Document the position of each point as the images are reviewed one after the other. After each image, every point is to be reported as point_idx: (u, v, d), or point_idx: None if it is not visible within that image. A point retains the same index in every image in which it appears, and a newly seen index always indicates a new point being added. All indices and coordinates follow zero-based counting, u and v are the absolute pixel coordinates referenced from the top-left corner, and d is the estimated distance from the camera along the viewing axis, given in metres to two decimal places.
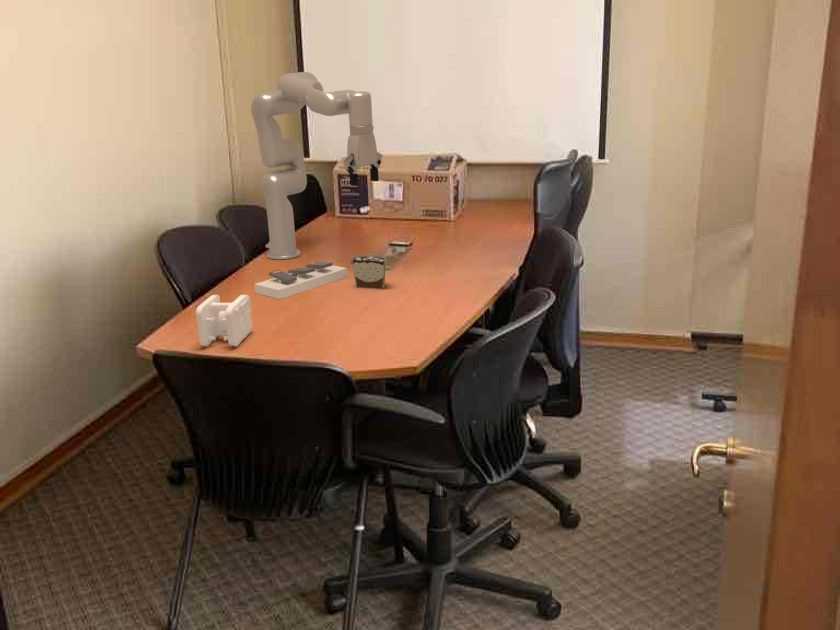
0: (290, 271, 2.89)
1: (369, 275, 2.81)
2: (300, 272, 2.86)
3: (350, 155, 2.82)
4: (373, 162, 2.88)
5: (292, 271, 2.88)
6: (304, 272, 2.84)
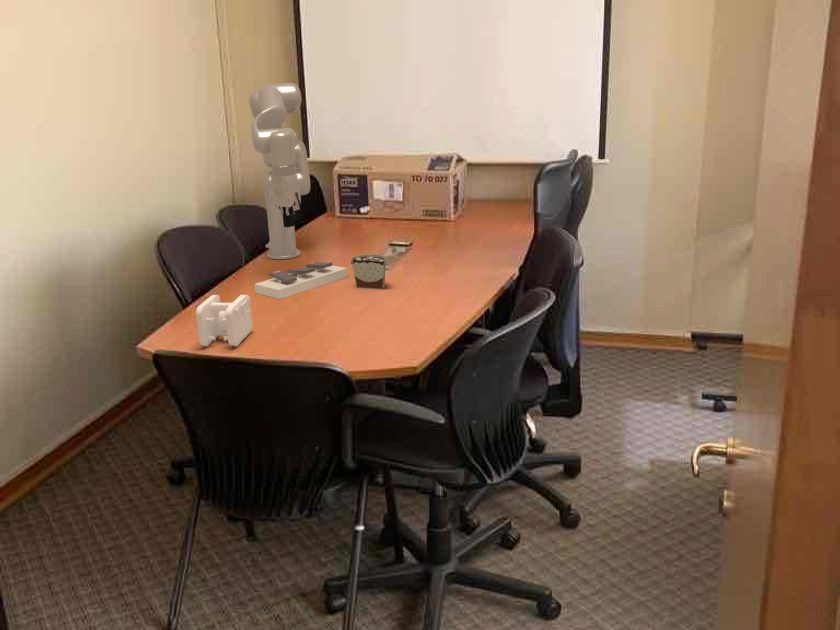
0: (290, 271, 2.89)
1: (369, 275, 2.81)
2: (300, 272, 2.86)
3: (295, 198, 2.80)
4: None
5: (292, 271, 2.88)
6: (304, 272, 2.84)
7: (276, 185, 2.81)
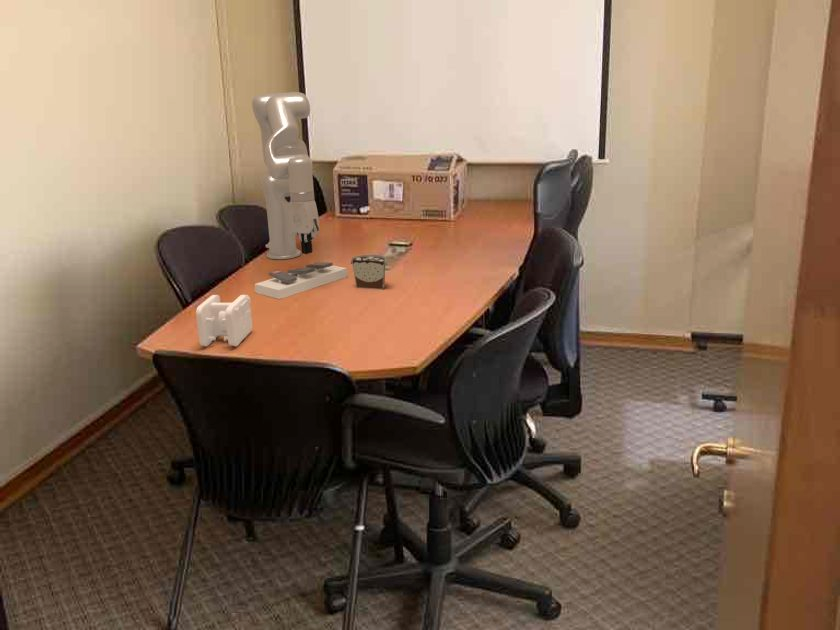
0: (290, 271, 2.89)
1: (369, 275, 2.81)
2: (300, 272, 2.86)
3: (313, 225, 2.78)
4: None
5: (292, 271, 2.88)
6: (304, 272, 2.84)
7: (294, 211, 2.78)
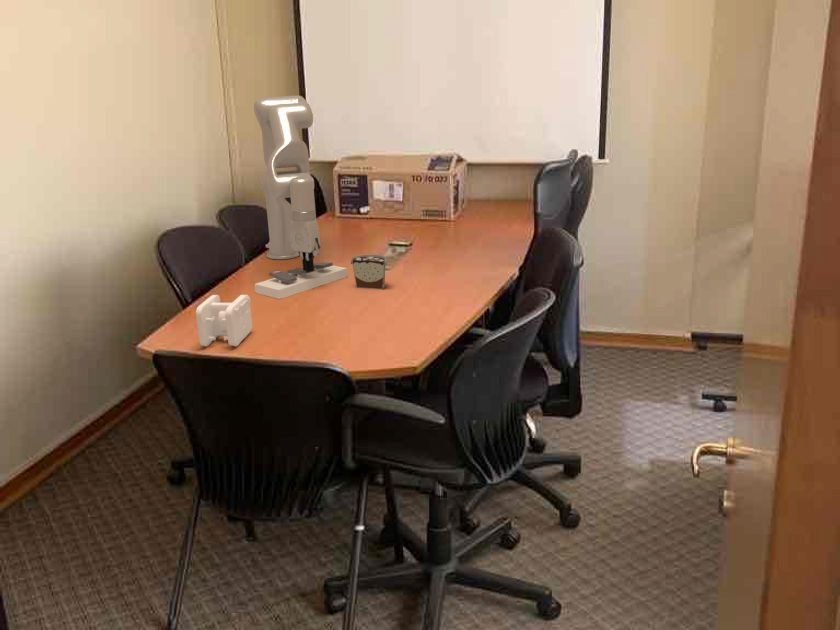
0: (290, 271, 2.89)
1: (369, 275, 2.81)
2: (300, 272, 2.86)
3: (315, 243, 2.80)
4: None
5: (292, 271, 2.88)
6: (304, 272, 2.84)
7: (296, 230, 2.80)
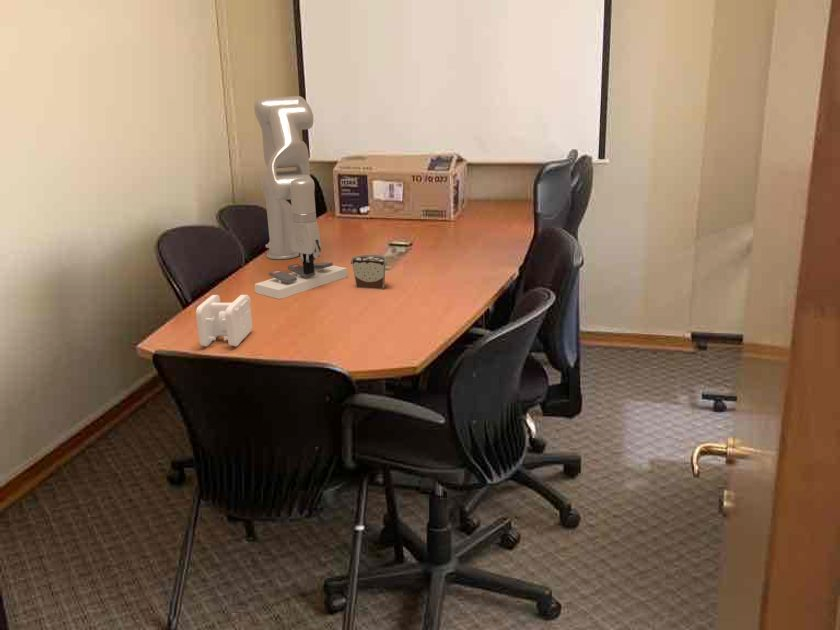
0: (290, 268, 2.89)
1: (369, 275, 2.81)
2: (300, 274, 2.86)
3: (315, 245, 2.80)
4: None
5: (292, 269, 2.88)
6: (304, 276, 2.85)
7: (296, 232, 2.80)
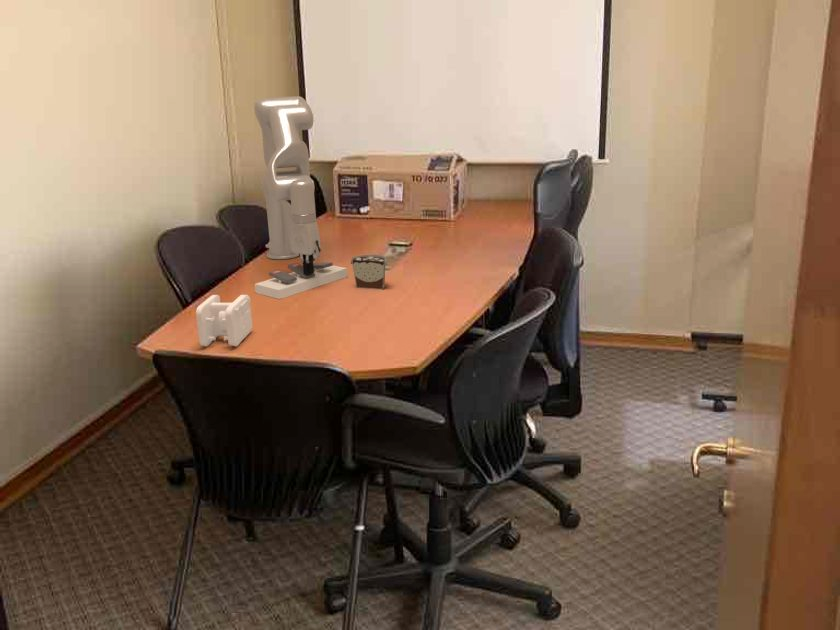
0: (290, 267, 2.88)
1: (369, 275, 2.81)
2: (300, 274, 2.86)
3: (315, 246, 2.80)
4: None
5: (292, 268, 2.88)
6: (304, 277, 2.85)
7: (296, 233, 2.80)
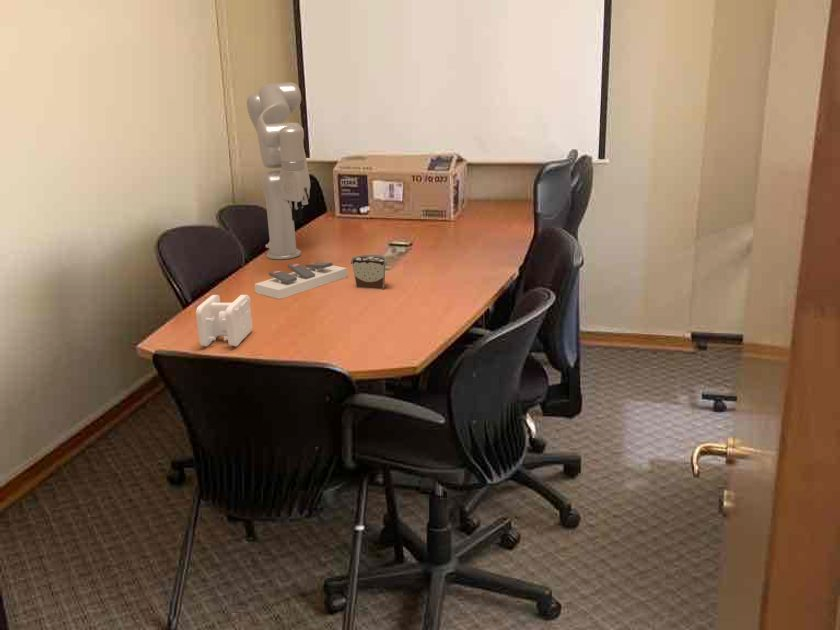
0: (290, 267, 2.88)
1: (369, 275, 2.81)
2: (300, 274, 2.86)
3: (304, 193, 2.85)
4: None
5: (292, 268, 2.88)
6: (304, 277, 2.85)
7: (285, 179, 2.85)
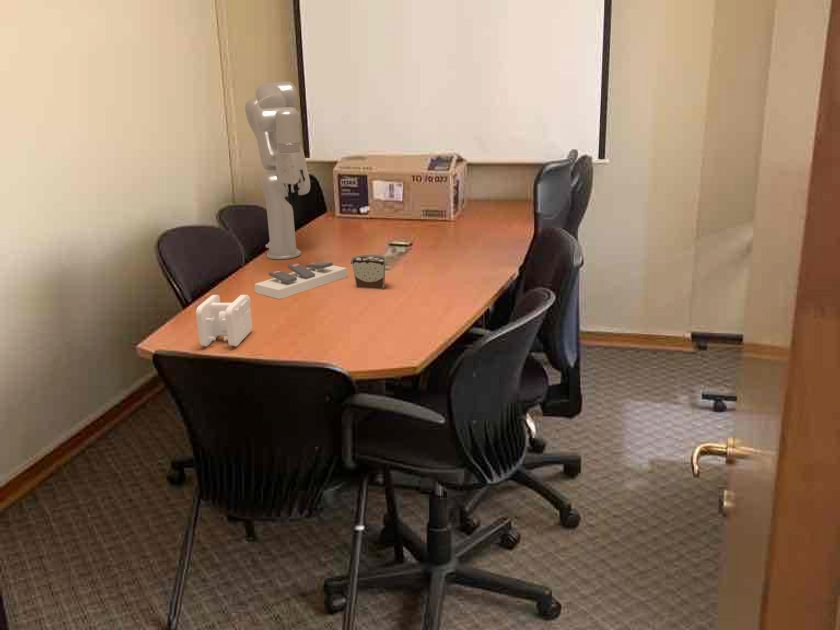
0: (290, 267, 2.88)
1: (369, 275, 2.81)
2: (300, 274, 2.86)
3: (300, 175, 2.86)
4: None
5: (292, 268, 2.88)
6: (304, 277, 2.85)
7: (281, 162, 2.87)
